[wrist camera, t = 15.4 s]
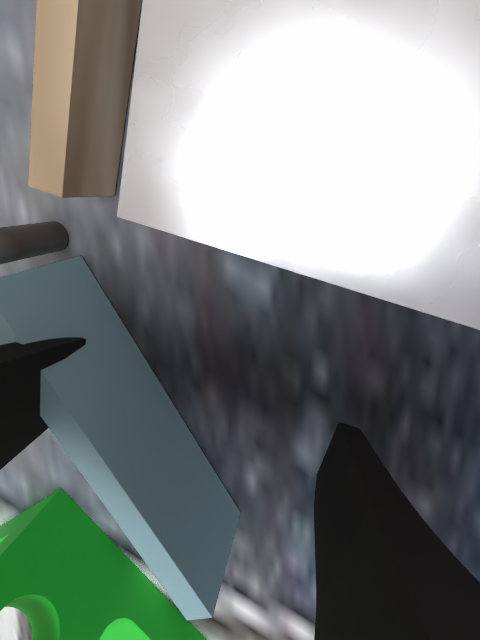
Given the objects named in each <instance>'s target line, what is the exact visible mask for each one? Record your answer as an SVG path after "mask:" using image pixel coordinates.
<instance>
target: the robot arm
mask: <svg viewBox="0 0 480 640" xmlns="http://www.w3.org/2000/svg"><path fill="white" fill-rule="evenodd" d="M84 345H86V339H84V338H81V337H64V338H54V339H47V340H41V341H36V342H31V343H27V344H20V343H17V342H14V343H8V344H3V345H0V470H1V469H2V468H3V467H4V466H5V465H6V464H7V463H8V462H10V461H11V460H12V459H13V458H14V457H15V456H17V455H18V454H19V453H20V452H21V451H22V450H23V449H25V448H26V447H27V446H28V445H29V444H30V443H31V442H33V441H34V440H35V439H36V438H37V437H38V436H40V435H41V434H42V433H43V432H44V431H45V430H46V429H47V428H49V427H48V426H47V424H46V423H45V422H44V420H43V419H42V417H41V416H40V385H41V370H43V369H45V368H47V367H49V366H51V365H53V364H55V363H57V362H60V361H62V360H64V359H66V358H67V357H68V356H70V355H71V354H73V353H74V352H76V351H77V350H79V349H80V348H81V347H83V346H84ZM314 527H315V559H316V623H315V640H480V582H479V581H478V580H477V579H476V578H475V577H474V576H473V575H472V574H471V573H470V572H469V571H468V570H467V569H466V568H465V567H464V566H463V565H462V564H461V563H460V562H459V561H458V559H457V558H456V557H455V556H454V555H453V554H452V553H451V552H450V550H449V549H448V548H447V547H446V546H445V545H444V544H443V542H442V541H441V540H440V539H439V538H438V537H437V536H436V534H435V533H434V532H433V531H432V530H431V529H430V527H429V526H428V525H427V524H426V522H425V521H424V520H423V519H422V517H421V516H420V515H419V514H418V512H417V511H416V510H415V508H414V507H413V506H412V504H411V503H410V502H409V500H408V499H407V498H406V496H405V495H404V494H403V492H402V491H401V490H400V488H399V487H398V485H397V484H396V483H395V481H394V480H393V478H392V477H391V475H390V474H389V472H388V471H387V469H386V468H385V466H384V465H383V463H382V462H381V460H380V459H379V457H378V456H377V454H376V453H375V451H374V450H373V448H372V446H371V445H370V443H369V442H368V440H367V439H366V437H365V436H364V434H363V433H362V431H361V430H360V429H359V428H356V427H353V426H350V425H347V424H344V423H340V422H339V423H338V426H337V428H336V431H335V433H334V435H333V438H332V440H331V442H330V445H329V447H328V450H327V452H326V454H325V457H324V459H323V462H322V464H321V466H320V469H319V471H318V473H317V481H316V490H315V502H314Z"/></svg>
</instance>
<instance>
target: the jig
mask: <svg viewBox="0 0 480 640" xmlns="http://www.w3.org/2000/svg"><path fill="white" fill-rule="evenodd" d="M141 3H142V0H37V12H36V33H35V55H34V76H33V98H32V119H31V141H30V162H29V183H28V186H30V187H33V188H36V189H39V190H42V191H44V192H47V193H50V194H53V195H56V196H59V197H62V198H65V197H97V196H115V189H116V182H117V175H118V168H119V161H120V153H121V146H122V139H123V132H124V125H125V118H126V110H127V103H128V96H129V89H130V82H131V75H132V67H133V60H134V53H135V46H136V39H137V32H138V24H139V17H140V10H141ZM67 243H68V235H67V232H66V230H65V229H64V227H63V226H62V225H60V224H59V223H57V222H44V223H36V224H27V225H19V226H10V227H2V228H0V264H3V263H8V262H12V261H16V260H21V259H25V258H30V257H34V256H38V255H43V254H47V253H52V252H56V251H60V250H63V249H64V248H65V247H66V246H67Z"/></svg>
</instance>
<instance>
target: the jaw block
mask: <svg viewBox="0 0 480 640" xmlns="http://www.w3.org/2000/svg"><path fill="white" fill-rule="evenodd" d="M117 217H120V218H123V219H126V220H129V221H133V222H136V223H139V224H142V225H145V226H149V227H152V228H155V229H158V230H161V231H165V232H168V233H171V234H174V235H177V236H181V237H184V238H187V239H190V240H193V241H197V242H200V243H203V244H206V245H209V246H213V247H216V248H219V249H222V250H225V251H229V252H232V253H235V254H238V255H241V256H245V257H248V258H251V259H254V260H257V261H261V262H264V263H267V264H270V265H273V266H277V267H280V268H283V269H286V270H289V271H293V272H296V273H299V274H302V275H305V276H309V277H312V278H315V279H318V280H321V281H325V282H328V283H331V284H334V285H337V286H341V287H344V288H347V289H350V290H353V291H357V292H360V293H363V294H366V295H369V296H373V297H376V298H379V299H382V300H386V301H389V302H392V303H395V304H398V305H402V306H405V307H408V308H411V309H414V310H418V311H421V312H424V313H427V314H430V315H434V316H437V317H440V318H443V319H446V320H450V321H453V322H456V323H459V324H462V325H466V326H469V327H472V328H475V329H478V330H480V0H143V2H142V10H141V19H140V27H139V36H138V44H137V52H136V61H135V69H134V77H133V86H132V94H131V103H130V111H129V119H128V128H127V136H126V145H125V153H124V161H123V170H122V178H121V186H120V195H119V203H118V212H117Z"/></svg>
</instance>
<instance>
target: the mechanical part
mask: <svg viewBox="0 0 480 640" xmlns="http://www.w3.org/2000/svg"><path fill="white" fill-rule="evenodd" d="M6 606H8V607H14V608H17V609H19V610H21V611H22V612H23V613H24V614H25V615H26V616H27V618H28V619H29V621H30V624H31V628H32V634H33V640H206V639H205V638H204V636H203V635H202V634H201V633H200V632H199V631H198V630H197V629H196V628H195V627H194V626H193V625H192V624H191V623H190V622H189V621H188V620H186V618H185V617H184V616H183V615H182V614H181V612H180V611H179V610H178V609H177V608H176V607H175V606H174V605H173V604H172V603H171V602H170V601H169V600H168V599H167V598H166V597H165V596H164V595H163V594H162V593H161V592H160V591H159V589H158V588H157V587H156V586H155V585H154V584H153V583H152V582H151V581H150V580H149V579H148V578H147V577H146V576H145V575H144V574H143V573H142V572H141V571H140V570H139V569H138V568H137V566H136V565H135V564H134V563H133V562H132V561H131V560H130V559H129V558H128V557H127V556H126V555H125V554H124V553H123V552H122V551H121V550H120V549H119V548H118V547H117V546H116V545H115V543H114V542H113V541H112V540H111V539H110V538H109V537H108V536H107V535H106V534H105V533H104V532H103V531H102V530H101V529H100V528H99V527H98V526H97V525H96V524H95V523H94V522H93V521H92V519H91V518H90V517H89V516H88V515H87V514H86V513H85V512H84V511H83V510H82V509H81V508H80V507H79V506H78V505H77V504H76V503H75V502H74V501H73V500H72V499H71V498H70V496H69V495H68V494H67V493H66V492H65V491H64V490H63V489H62V488H60V489H58V490H57V491H55V492H53V493H52V494H50V495H49V496H47V497H46V498H44V499H42V500H41V501H39V502H38V503H36V504H35V505H33V506H31V507H30V508H28V509H27V510H25V511H24V512H22V513H20V514H19V515H17V516H16V517H14V518H12V519H11V520H9V521H8V522H6V523H5V524H3V525H1V526H0V611H1V610H2V609H3V608H4V607H6Z"/></svg>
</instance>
